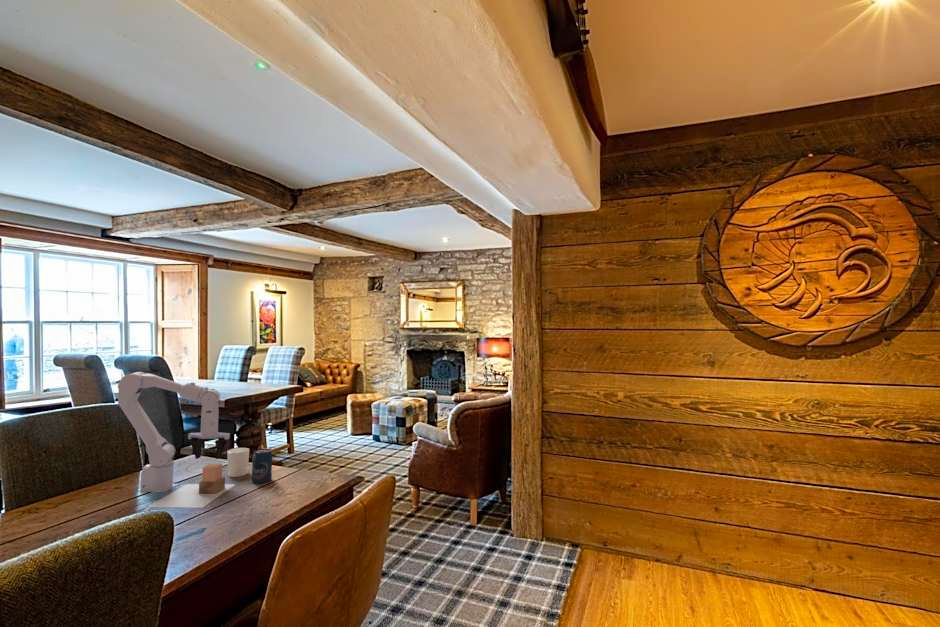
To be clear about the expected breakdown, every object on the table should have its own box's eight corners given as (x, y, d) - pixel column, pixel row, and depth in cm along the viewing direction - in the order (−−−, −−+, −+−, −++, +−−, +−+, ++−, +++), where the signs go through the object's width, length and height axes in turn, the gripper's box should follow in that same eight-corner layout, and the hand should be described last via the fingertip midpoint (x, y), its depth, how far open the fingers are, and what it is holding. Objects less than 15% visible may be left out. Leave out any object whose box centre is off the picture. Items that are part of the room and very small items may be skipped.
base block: (198, 493, 159) (199, 482, 159) (208, 487, 165) (208, 476, 165) (215, 494, 159) (216, 482, 160) (224, 488, 165) (225, 477, 166)
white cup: (252, 472, 185) (253, 448, 185) (240, 479, 177) (241, 453, 177) (234, 471, 186) (235, 447, 186) (222, 478, 178) (223, 452, 178)
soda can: (249, 486, 169) (251, 453, 170) (253, 480, 176) (254, 449, 176) (269, 484, 171) (270, 452, 172) (272, 478, 178) (273, 448, 178)
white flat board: (146, 508, 147) (146, 506, 147) (186, 485, 169) (186, 483, 169) (202, 509, 147) (202, 507, 147) (235, 485, 169) (235, 484, 169)
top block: (202, 481, 160) (202, 467, 160) (209, 477, 165) (209, 463, 165) (215, 481, 160) (215, 467, 160) (221, 477, 165) (222, 463, 165)
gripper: (183, 423, 167) (182, 460, 166) (223, 424, 167) (222, 461, 167) (194, 420, 174) (193, 455, 173) (233, 420, 174) (231, 455, 174)
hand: (208, 458), depth 170 cm, fingers open, 7 cm apart
